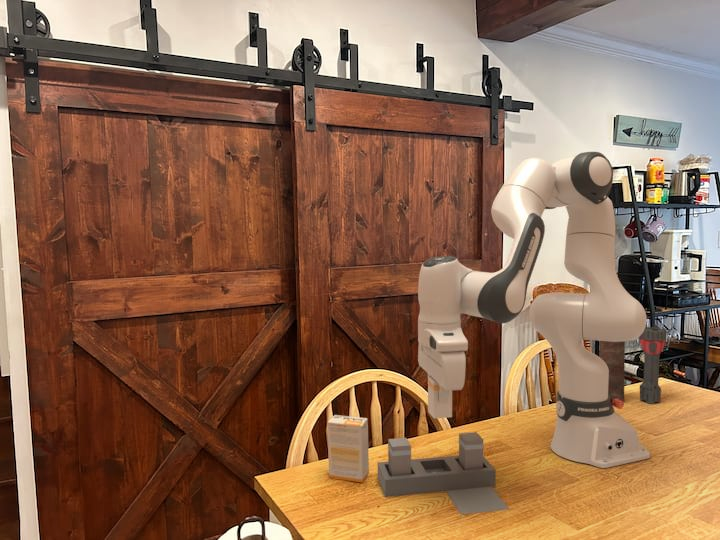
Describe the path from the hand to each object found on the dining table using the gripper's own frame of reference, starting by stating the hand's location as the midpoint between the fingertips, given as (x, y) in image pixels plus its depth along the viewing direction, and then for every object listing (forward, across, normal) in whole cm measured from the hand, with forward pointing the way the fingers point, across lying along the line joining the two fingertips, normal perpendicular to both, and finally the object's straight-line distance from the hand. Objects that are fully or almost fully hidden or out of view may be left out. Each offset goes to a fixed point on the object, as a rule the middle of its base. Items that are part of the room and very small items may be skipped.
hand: (438, 398), depth 112 cm
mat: (+19, +7, +6) cm, 21 cm away
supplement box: (+20, -8, -18) cm, 28 cm away
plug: (+4, 0, 0) cm, 4 cm away
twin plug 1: (+17, -1, -8) cm, 19 cm away
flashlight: (+19, -39, +82) cm, 93 cm away
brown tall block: (+19, -41, +70) cm, 84 cm away
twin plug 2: (+17, -1, +8) cm, 19 cm away
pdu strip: (+19, -1, 0) cm, 19 cm away
